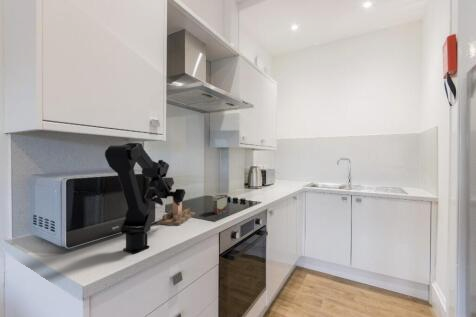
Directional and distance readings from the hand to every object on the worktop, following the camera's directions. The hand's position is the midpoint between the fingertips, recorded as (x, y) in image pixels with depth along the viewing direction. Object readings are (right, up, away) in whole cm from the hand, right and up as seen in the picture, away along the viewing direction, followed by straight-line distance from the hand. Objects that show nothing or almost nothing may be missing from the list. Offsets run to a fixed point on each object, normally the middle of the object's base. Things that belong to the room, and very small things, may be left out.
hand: (170, 204), depth 112 cm
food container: (+22, -9, +23) cm, 33 cm away
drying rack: (+1, -9, +7) cm, 12 cm away
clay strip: (+1, -8, +7) cm, 11 cm away
